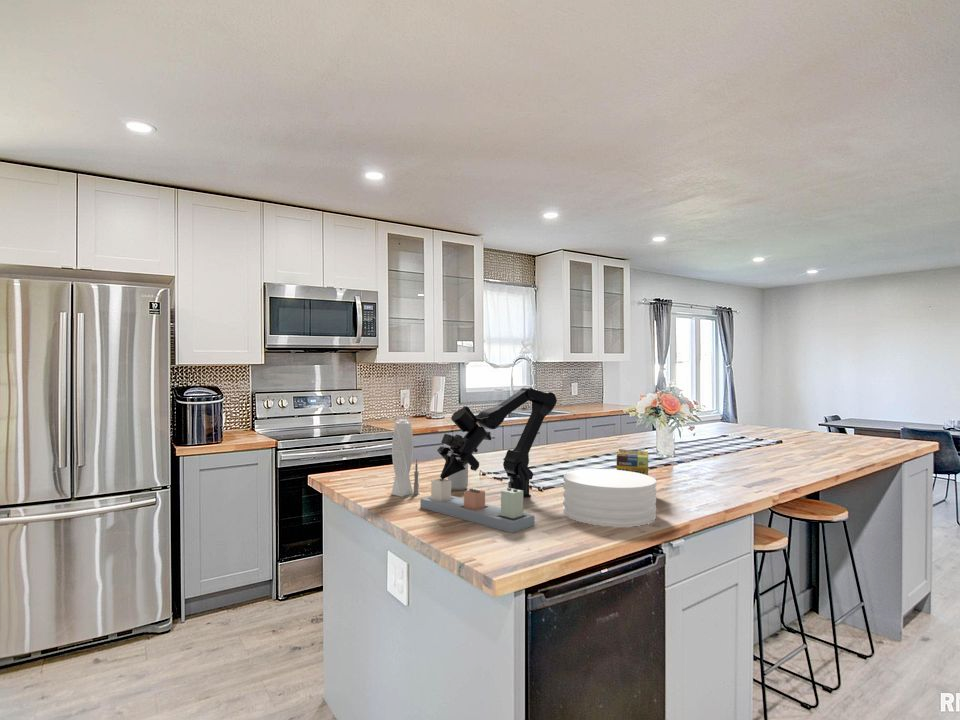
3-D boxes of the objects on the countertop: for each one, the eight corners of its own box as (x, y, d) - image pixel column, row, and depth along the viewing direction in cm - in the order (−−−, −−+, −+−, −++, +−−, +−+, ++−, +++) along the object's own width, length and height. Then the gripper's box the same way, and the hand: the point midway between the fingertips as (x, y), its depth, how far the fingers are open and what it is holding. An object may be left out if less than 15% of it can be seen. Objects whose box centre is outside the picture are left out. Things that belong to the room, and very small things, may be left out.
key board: (420, 507, 173) (420, 498, 173) (443, 502, 180) (443, 493, 180) (512, 533, 148) (512, 522, 148) (534, 525, 155) (534, 515, 155)
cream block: (431, 502, 174) (431, 478, 174) (441, 499, 177) (441, 476, 177) (440, 504, 171) (441, 481, 171) (451, 502, 174) (451, 479, 174)
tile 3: (463, 514, 164) (464, 489, 164) (473, 511, 167) (474, 487, 167) (474, 517, 161) (475, 492, 161) (484, 514, 164) (485, 489, 164)
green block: (500, 515, 154) (501, 488, 154) (510, 512, 158) (511, 486, 158) (513, 518, 151) (513, 491, 151) (523, 515, 155) (523, 488, 155)
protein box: (615, 500, 185) (616, 455, 185) (618, 491, 200) (618, 448, 200) (647, 503, 182) (648, 457, 182) (647, 493, 197) (648, 450, 197)
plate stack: (544, 513, 169) (545, 476, 169) (595, 498, 188) (596, 465, 188) (625, 534, 149) (625, 492, 149) (672, 515, 168) (672, 478, 168)
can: (465, 491, 196) (465, 458, 196) (445, 490, 198) (445, 457, 198) (469, 487, 203) (470, 454, 203) (450, 485, 205) (450, 454, 205)
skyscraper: (402, 499, 184) (403, 417, 185) (386, 495, 189) (387, 415, 190) (419, 495, 191) (420, 415, 191) (403, 491, 196) (404, 413, 196)
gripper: (442, 422, 185) (412, 457, 179) (471, 427, 169) (440, 466, 163) (462, 443, 189) (433, 478, 183) (492, 451, 173) (462, 489, 167)
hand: (441, 478), depth 174 cm, fingers closed, pressing on cream block
